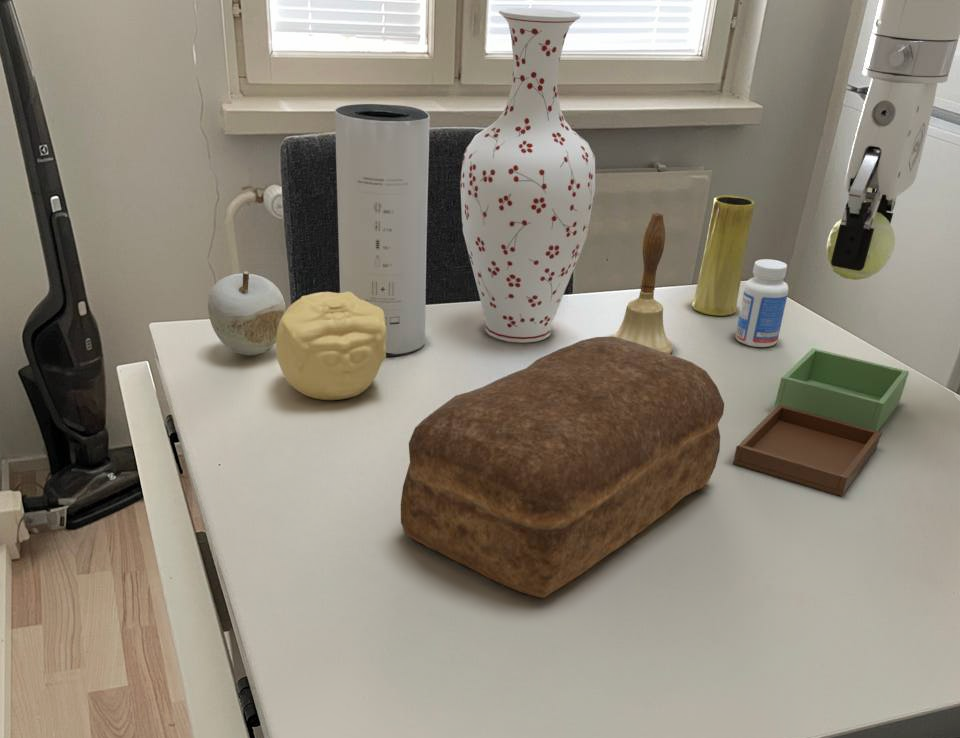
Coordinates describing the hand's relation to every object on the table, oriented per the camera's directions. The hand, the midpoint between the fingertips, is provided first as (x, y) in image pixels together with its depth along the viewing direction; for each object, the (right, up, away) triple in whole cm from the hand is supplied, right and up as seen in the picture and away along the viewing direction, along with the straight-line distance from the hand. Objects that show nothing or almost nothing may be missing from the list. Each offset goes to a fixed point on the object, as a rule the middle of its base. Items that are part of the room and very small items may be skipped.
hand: (857, 257), depth 102 cm
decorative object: (-66, -5, +16) cm, 68 cm away
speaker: (-51, -3, +21) cm, 55 cm away
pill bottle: (-3, 0, +27) cm, 27 cm away
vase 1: (-34, 0, +26) cm, 43 cm away
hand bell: (-19, -2, +23) cm, 30 cm away
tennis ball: (0, -2, +1) cm, 2 cm away
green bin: (+2, -13, +11) cm, 17 cm away
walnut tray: (-5, -20, +1) cm, 21 cm away
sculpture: (-55, -11, +9) cm, 57 cm away
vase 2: (-6, +7, +36) cm, 37 cm away
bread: (-31, -27, -10) cm, 43 cm away
